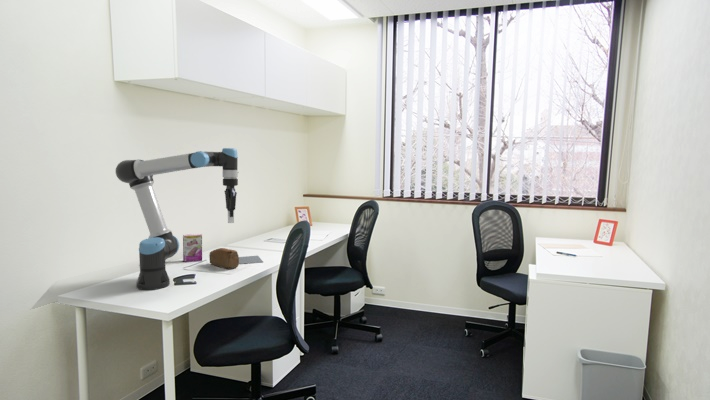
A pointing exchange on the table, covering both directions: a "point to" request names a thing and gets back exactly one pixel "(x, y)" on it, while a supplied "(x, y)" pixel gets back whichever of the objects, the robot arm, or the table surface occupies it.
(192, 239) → the candy bar box
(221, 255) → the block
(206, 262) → the table surface
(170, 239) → the robot arm
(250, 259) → the mat
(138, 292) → the table surface
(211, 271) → the table surface
